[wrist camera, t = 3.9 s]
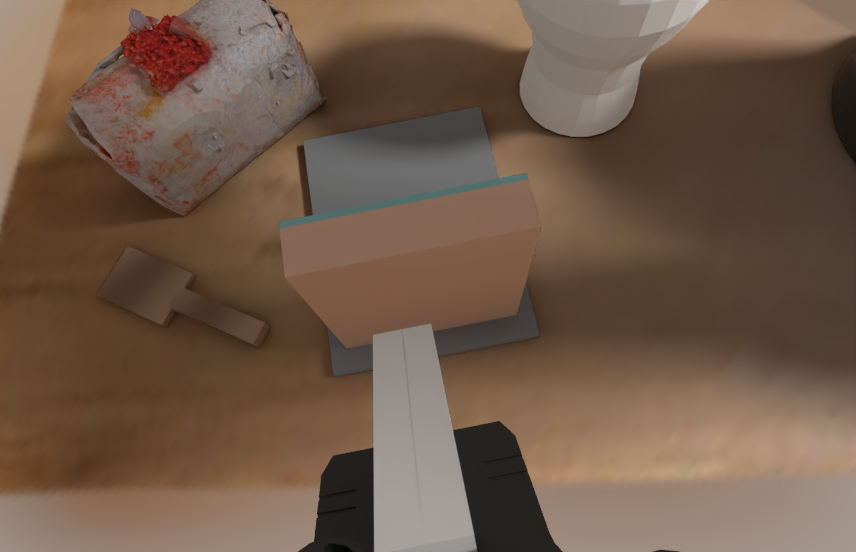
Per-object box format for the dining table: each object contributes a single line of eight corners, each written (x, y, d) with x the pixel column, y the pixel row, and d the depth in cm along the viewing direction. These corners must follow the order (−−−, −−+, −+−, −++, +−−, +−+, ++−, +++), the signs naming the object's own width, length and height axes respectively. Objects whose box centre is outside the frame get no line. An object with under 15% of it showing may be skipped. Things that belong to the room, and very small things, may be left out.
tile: (516, 315, 33) (541, 226, 22) (346, 348, 33) (284, 277, 22) (506, 276, 34) (526, 173, 23) (341, 309, 34) (278, 221, 23)
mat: (538, 337, 33) (539, 334, 33) (335, 377, 33) (333, 375, 32) (479, 111, 39) (479, 106, 38) (305, 145, 39) (303, 140, 38)
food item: (181, 240, 37) (86, 158, 28) (115, 166, 39) (7, 67, 30) (339, 111, 40) (300, -3, 30) (268, 49, 42) (212, -75, 33)
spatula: (279, 310, 35) (273, 305, 34) (250, 365, 34) (244, 361, 33) (132, 249, 37) (124, 243, 36) (101, 298, 36) (91, 293, 35)
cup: (511, 166, 37) (538, -29, 23) (487, 38, 41) (498, -197, 27) (675, 145, 37) (803, -65, 23) (636, 18, 41) (725, -230, 27)
